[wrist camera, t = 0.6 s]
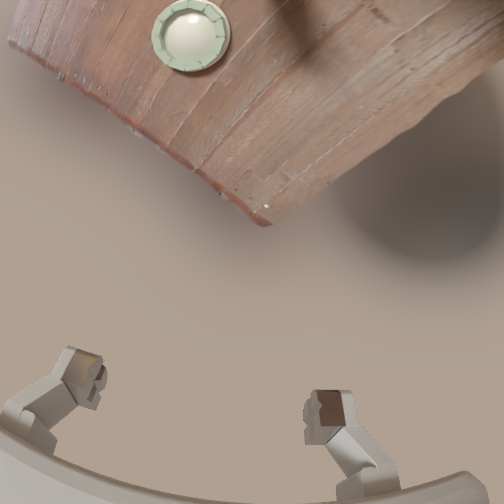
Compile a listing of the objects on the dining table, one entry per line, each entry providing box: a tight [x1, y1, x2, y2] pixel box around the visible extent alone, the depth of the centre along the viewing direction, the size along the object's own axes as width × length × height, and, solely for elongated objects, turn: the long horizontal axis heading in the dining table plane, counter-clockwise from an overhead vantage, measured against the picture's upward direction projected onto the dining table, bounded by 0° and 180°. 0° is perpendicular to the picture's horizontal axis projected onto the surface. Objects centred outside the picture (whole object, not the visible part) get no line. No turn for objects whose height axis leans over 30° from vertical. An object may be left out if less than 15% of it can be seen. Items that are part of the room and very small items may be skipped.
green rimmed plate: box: [151, 0, 231, 71], centre depth 38 cm, size 14×14×2 cm
